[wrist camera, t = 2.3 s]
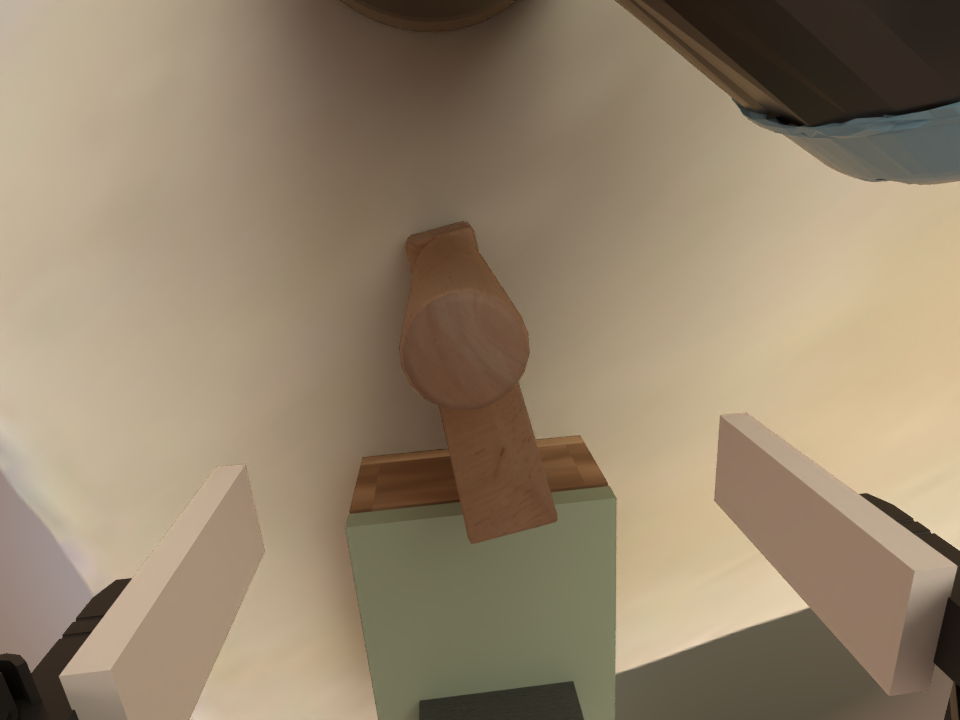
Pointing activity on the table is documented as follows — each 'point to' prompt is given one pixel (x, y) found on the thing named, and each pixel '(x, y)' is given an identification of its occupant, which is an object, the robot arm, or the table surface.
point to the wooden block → (474, 381)
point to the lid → (489, 613)
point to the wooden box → (434, 480)
